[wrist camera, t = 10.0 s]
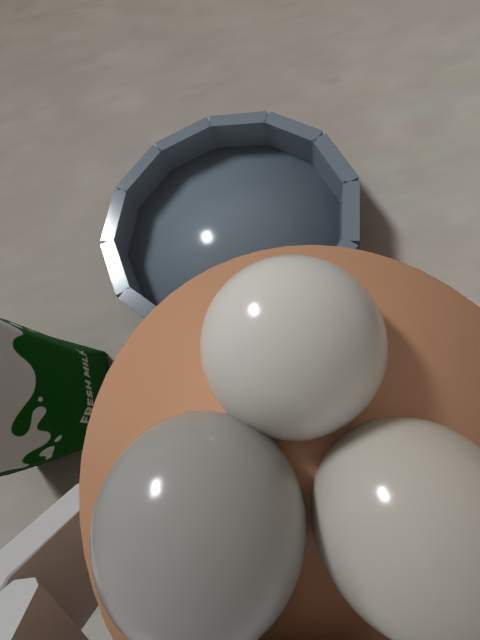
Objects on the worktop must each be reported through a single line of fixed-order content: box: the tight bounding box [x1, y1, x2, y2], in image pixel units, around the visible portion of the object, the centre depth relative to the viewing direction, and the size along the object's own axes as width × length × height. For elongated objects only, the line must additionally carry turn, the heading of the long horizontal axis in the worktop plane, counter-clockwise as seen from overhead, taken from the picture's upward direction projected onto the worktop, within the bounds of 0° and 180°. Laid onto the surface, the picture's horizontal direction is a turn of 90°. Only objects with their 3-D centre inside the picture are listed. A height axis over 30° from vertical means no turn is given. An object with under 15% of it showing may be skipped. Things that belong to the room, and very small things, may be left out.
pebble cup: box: [79, 245, 480, 640], centre depth 7 cm, size 6×6×10 cm
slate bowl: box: [100, 111, 360, 318], centre depth 27 cm, size 20×20×4 cm
